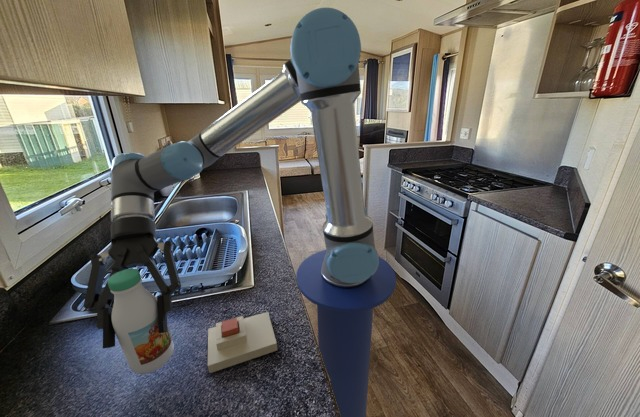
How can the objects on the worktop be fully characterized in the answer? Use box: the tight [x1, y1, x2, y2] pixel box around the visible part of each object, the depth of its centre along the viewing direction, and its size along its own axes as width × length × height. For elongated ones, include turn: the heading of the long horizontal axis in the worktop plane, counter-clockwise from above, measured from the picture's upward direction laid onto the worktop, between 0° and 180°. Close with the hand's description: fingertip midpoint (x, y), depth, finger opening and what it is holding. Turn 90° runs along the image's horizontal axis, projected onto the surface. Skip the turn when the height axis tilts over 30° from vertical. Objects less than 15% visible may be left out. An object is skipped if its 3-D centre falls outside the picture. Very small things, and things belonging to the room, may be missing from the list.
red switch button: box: [221, 317, 239, 338], centre depth 58 cm, size 3×3×2 cm
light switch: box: [207, 311, 278, 374], centre depth 59 cm, size 14×10×4 cm
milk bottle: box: [107, 268, 175, 375], centre depth 49 cm, size 8×8×20 cm
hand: (137, 339), depth 46 cm, fingers closed on milk bottle, 8 cm apart
